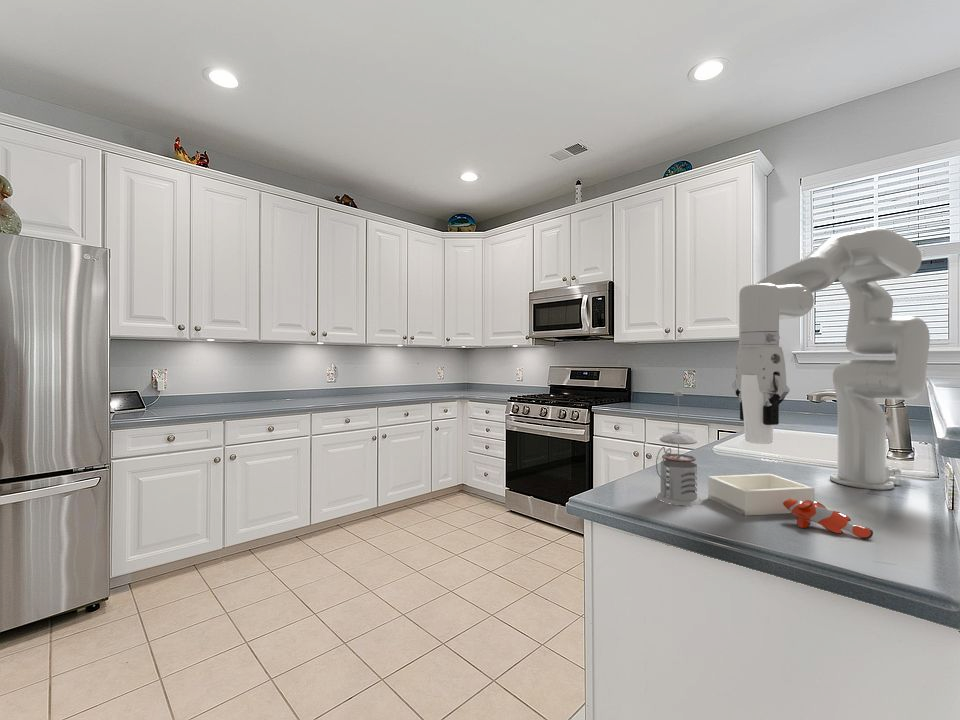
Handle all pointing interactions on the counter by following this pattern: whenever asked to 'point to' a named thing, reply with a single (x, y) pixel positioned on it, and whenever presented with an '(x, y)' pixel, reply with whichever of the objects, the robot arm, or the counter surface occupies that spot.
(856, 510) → the counter surface
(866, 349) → the robot arm
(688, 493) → the french press
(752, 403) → the drinking glass
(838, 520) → the fish
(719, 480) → the bin
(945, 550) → the counter surface
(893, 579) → the counter surface
